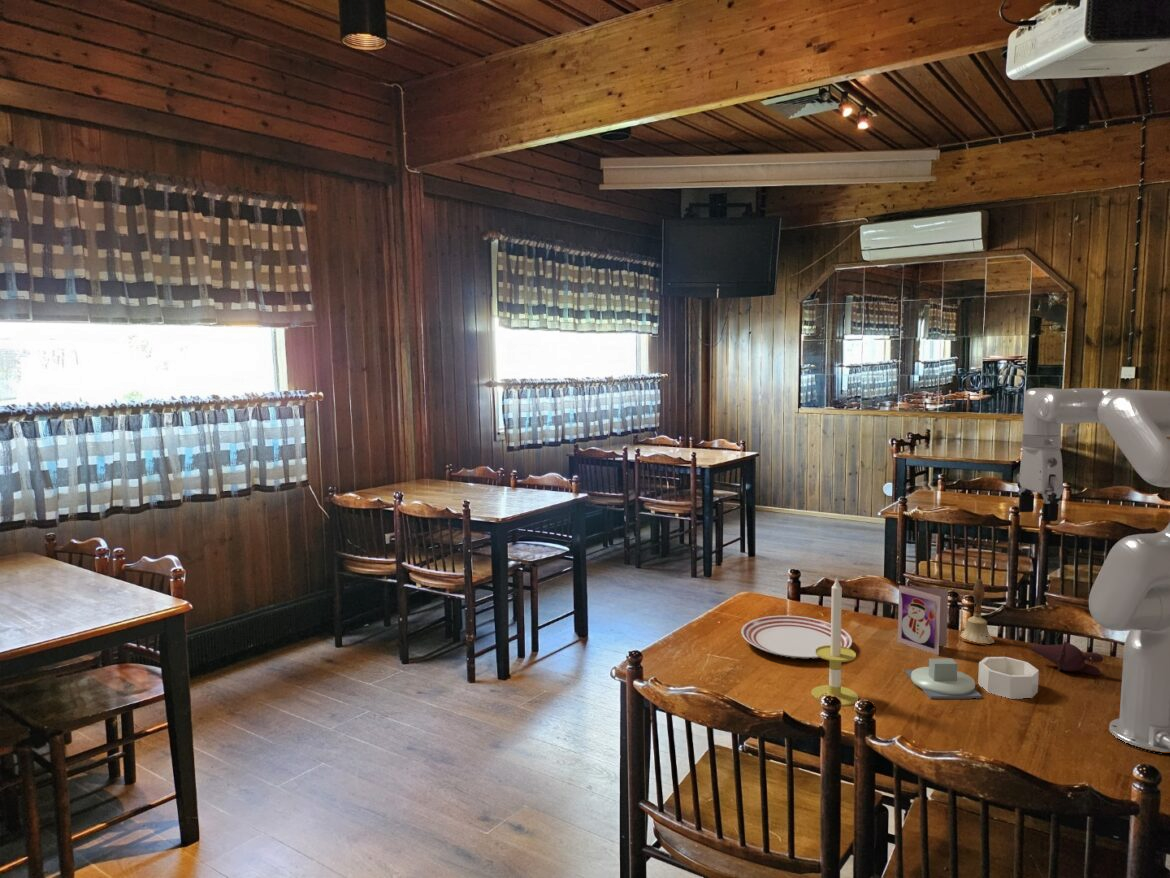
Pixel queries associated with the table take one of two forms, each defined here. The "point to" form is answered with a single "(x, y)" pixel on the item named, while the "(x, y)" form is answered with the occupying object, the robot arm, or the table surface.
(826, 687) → the candle
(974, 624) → the hand bell
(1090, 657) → the icecream
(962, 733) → the table surface
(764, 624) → the dinner plate
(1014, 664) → the bowl
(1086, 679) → the table surface
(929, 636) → the greeting card
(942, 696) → the mat
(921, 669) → the lid
